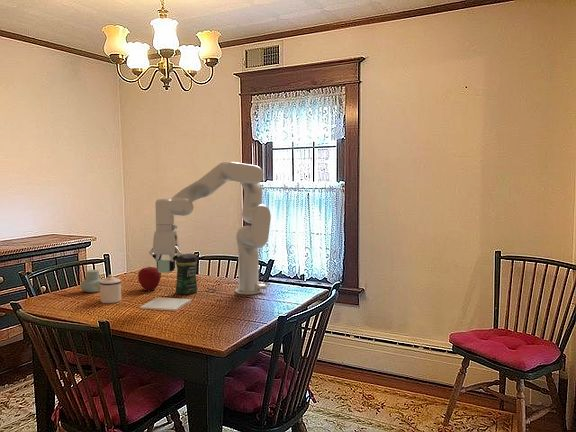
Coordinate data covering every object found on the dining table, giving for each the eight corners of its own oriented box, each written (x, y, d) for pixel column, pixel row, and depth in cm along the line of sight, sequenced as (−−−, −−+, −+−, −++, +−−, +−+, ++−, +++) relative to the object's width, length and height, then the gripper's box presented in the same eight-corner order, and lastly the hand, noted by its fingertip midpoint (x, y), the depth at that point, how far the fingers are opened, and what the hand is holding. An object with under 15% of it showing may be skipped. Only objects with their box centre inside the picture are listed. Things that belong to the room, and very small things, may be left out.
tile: (191, 301, 222) (191, 299, 222) (175, 310, 206) (175, 308, 206) (157, 299, 225) (157, 297, 225) (140, 308, 209) (140, 306, 209)
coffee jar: (183, 296, 231) (182, 256, 229) (173, 293, 236) (172, 254, 235) (200, 292, 238) (199, 253, 236) (190, 289, 243) (189, 251, 242)
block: (173, 270, 216) (173, 259, 216) (168, 272, 211) (168, 261, 211) (163, 270, 217) (162, 258, 217) (157, 272, 212) (157, 260, 212)
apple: (164, 290, 242) (164, 266, 240) (142, 293, 236) (142, 268, 235) (156, 286, 251) (156, 263, 250) (135, 288, 245) (134, 265, 244)
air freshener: (89, 294, 233) (88, 273, 232) (77, 292, 237) (76, 271, 236) (108, 290, 242) (107, 269, 241) (96, 288, 246) (95, 267, 245)
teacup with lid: (126, 300, 223) (125, 274, 222) (109, 304, 215) (109, 278, 214) (107, 296, 229) (107, 271, 228) (91, 301, 221) (90, 275, 220)
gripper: (187, 227, 214) (188, 269, 216) (150, 226, 218) (151, 267, 219) (180, 229, 207) (181, 272, 209) (142, 228, 210) (143, 271, 212)
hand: (165, 269), depth 214 cm, fingers closed on block, 5 cm apart
